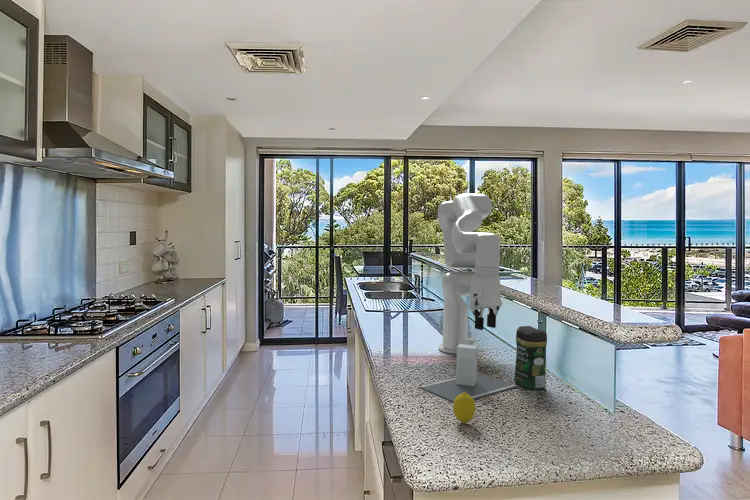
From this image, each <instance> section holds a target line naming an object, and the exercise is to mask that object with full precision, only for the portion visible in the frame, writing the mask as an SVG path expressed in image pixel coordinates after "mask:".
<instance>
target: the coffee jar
mask: <svg viewBox="0 0 750 500" xmlns="http://www.w3.org/2000/svg"><path fill="white" fill-rule="evenodd" d="M515 333H516V335H515V341H516V343H515V344H516V354H515V355H516V356H515V366H514V367H515V368H514V379H513V380H514V382H515V383H516V384H517V385H519V386H521V387H523V388H525V389H527V390H529V389H530V390H534V391H535V390H536V389H537V390H541V389H543V388H545V387H546V348H547V345H548V335H547V332H545V331H544V330H541V329H538V328H536V327H533V326H531V325H523V326H521V325H520V326H519V327H518V328H517V329H516V332H515ZM537 390H536V391H537Z"/></svg>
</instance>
